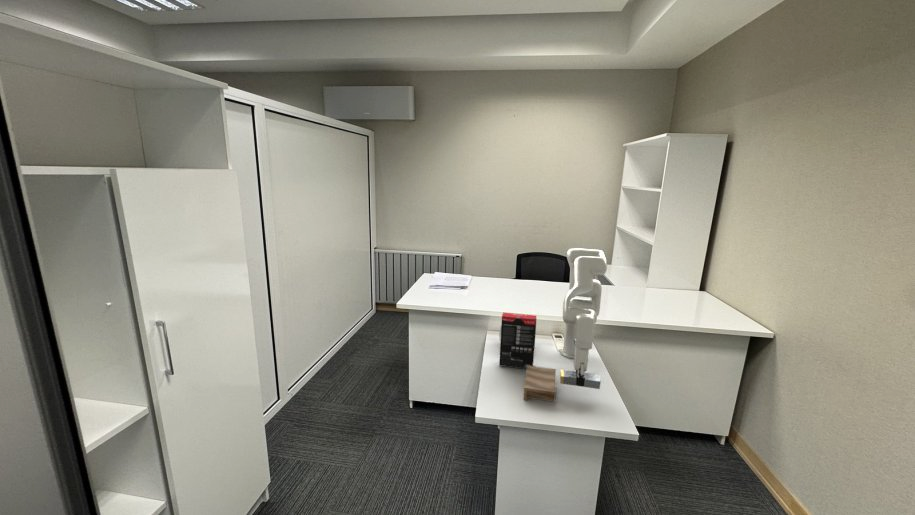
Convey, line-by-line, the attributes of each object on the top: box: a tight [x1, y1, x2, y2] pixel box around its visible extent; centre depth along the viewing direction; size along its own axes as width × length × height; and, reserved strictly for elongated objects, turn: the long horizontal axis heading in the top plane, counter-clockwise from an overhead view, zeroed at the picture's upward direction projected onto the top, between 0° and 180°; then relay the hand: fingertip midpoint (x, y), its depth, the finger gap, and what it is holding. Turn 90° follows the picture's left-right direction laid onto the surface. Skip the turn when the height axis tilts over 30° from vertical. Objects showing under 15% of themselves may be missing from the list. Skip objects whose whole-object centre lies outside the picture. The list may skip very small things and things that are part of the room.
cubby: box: [523, 365, 557, 402], centre depth 167 cm, size 20×13×6 cm, turn 165°
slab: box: [559, 369, 601, 390], centre depth 162 cm, size 16×6×4 cm, turn 75°
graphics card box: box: [498, 312, 537, 370], centre depth 187 cm, size 17×7×27 cm, turn 79°
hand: (579, 381), depth 162 cm, fingers closed on slab, 6 cm apart
